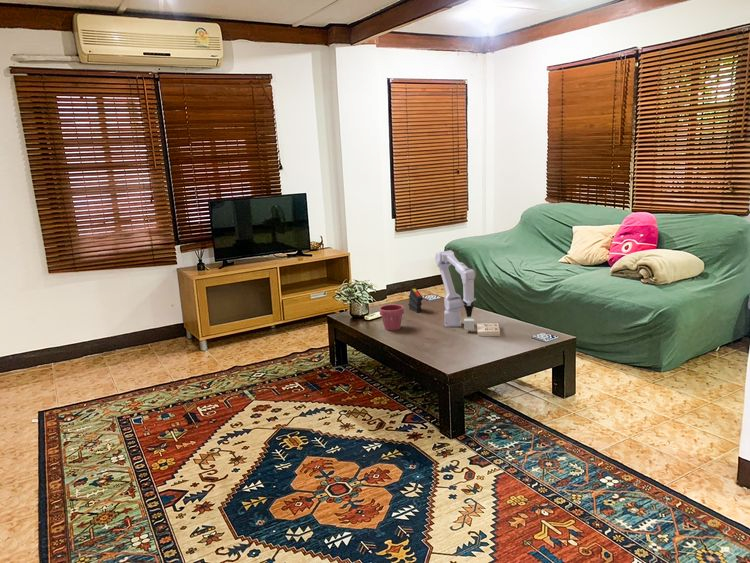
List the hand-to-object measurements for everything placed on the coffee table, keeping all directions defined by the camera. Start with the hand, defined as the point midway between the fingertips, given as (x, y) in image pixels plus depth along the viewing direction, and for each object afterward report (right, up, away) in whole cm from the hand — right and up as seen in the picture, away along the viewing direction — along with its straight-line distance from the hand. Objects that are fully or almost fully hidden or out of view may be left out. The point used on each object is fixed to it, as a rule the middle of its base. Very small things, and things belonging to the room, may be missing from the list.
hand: (469, 314), depth 317 cm
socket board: (+11, -9, +1) cm, 14 cm away
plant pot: (-42, -9, +16) cm, 46 cm away
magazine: (-26, -1, +49) cm, 55 cm away
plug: (+1, -10, +2) cm, 10 cm away
